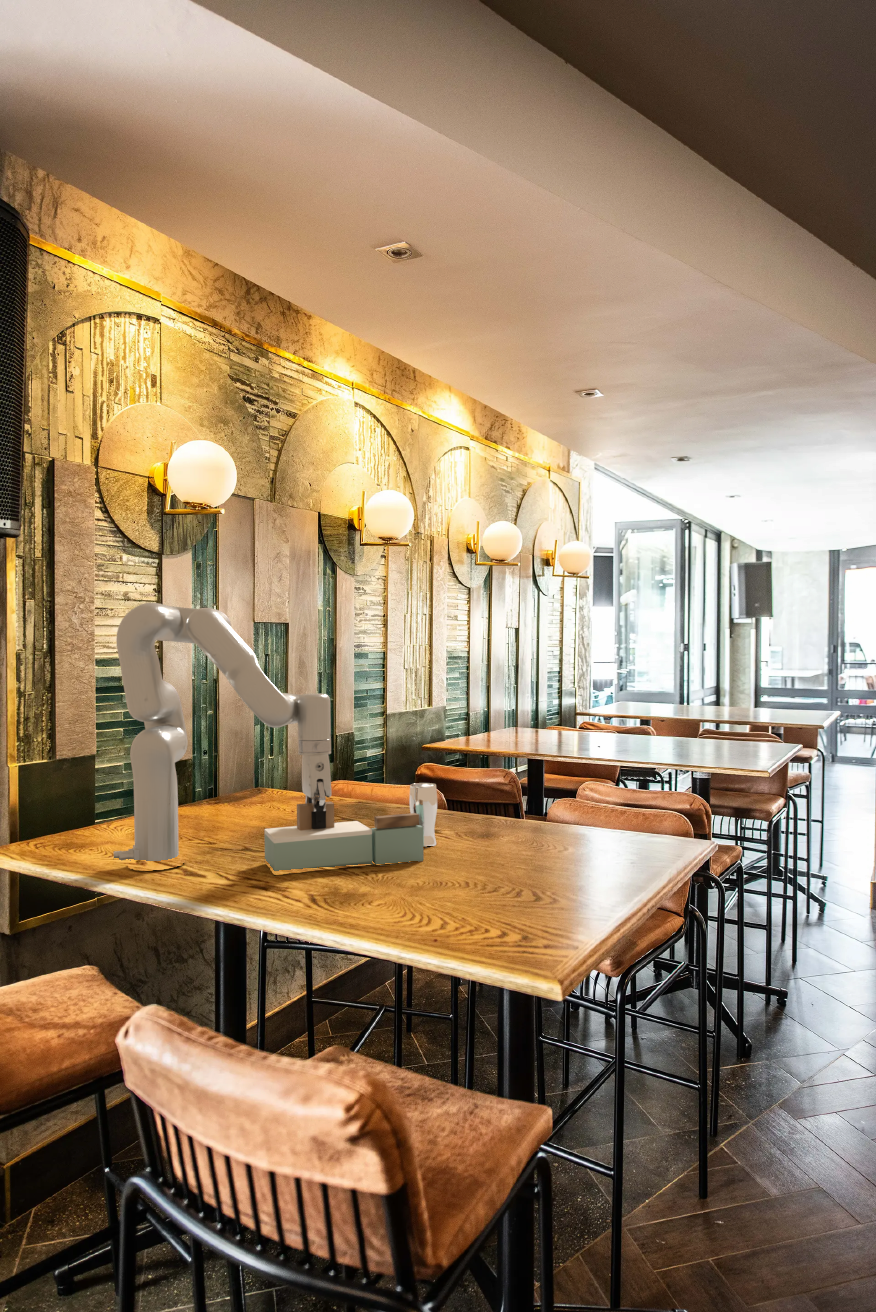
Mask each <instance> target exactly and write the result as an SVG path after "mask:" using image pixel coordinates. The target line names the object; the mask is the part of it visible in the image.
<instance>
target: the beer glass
mask: <svg viewBox="0 0 876 1312" xmlns="http://www.w3.org/2000/svg"><path fill="white" fill-rule="evenodd" d="M409 812H410V813H417V814H419V825H421V826H423V847H425V848H427V847H426V846H433V847H435V846H437V840H436V834H435V828H436V827H435V826H436V820H437V819H436V818H437V813H438V791H437V784H436V783H432V782H431V783H430V782H419V783H412V784H410V786H409ZM410 813H409V814H410Z"/></svg>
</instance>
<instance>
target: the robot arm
mask: <svg viewBox="0 0 876 1312" xmlns="http://www.w3.org/2000/svg"><path fill="white" fill-rule="evenodd" d="M115 641H116V650H117V654H118V659H119V665H120V672H121V679H122V686H123V690H124V695H125V702H126V707H127V711H128V713H129V714H130V717H132V719H134V720H136V721H139V722H143V723H144V729H143V730H141V731H140V732H139V733H137V735H136V736H135V738H134V739H133V740H132V742H131V746H130V750H129V755H130V756H129V757H130V763H131V764H130V765H131V771H132V779H133V781H132V782H133V807H134V808H133V812H134V815H133V817H134V821H133V823H134V844H133V845H132V848H128V850H114V851H113V859H114V858H119V860H121V861H126V859H128V860H129V859H134V860H146V861H161V860H168V859H172V858H175V857H177V856H178V855H180V853H179V799H178V798H179V797H178V796H179V794H178V793H179V791H178V790H179V789H178V788H179V787H178V776H177V771H176V763H177V762H179V761H180V760H181V759H182V758H183V757H184V756H185V754H186V752H187V749H188V746H189V744H188V743H189V741H188V733H187V726H186V721H185V717H184V712H183V706H182V701H181V697H180V694H179V692H178V691H177V689H176V688H175V686H174V685H172V684H171V683H170V682H168V681H165V680H163V675H162V670H161V664H160V659H159V656H158V653H157V649H156V645H155V644H156V641H161V642H174V643H175V642H176V643H184V644H186V643H187V644H195V645H196V646H197V647H198V648H199V649H200V651H202V652H203V653H204V654H205V655H206V657H207V658H208V659H209V660H210V661H211V662H212V663H213V665H215V667H216V668H217V669H218V670H219V671H220V672H221V673H222V675H223V676H224V677H225V679H226V680H227V682H228V683H229V684H230V685H231V687H232V688H233V690H234V691H235V693H236V694H237V695H238V697H239V698H240V699H241V701H242V702H243V703H244V705H246V706H247V708H249V709H250V711H251V712H252V713H253V714H254V715H255V716H256V717H257V718H258V719H259V720H260V721H261V722H262V723H263V724H264V725H266V726H268V727H270V728H275V729H277V728H281V727H284V726H287V725H292V724H297V755H299V756H301V788H302V793H303V795H305V802H304V804H305V803H312V806H313V811H312V812H311V814H312V829H325V828H326V805H325V804H326V803H325V802H326V800H327V799H326V798H331V797H332V777H331V764H330V756H329V755H331V754H332V738H331V737H332V735H331V733H332V732H331V722H332V721H331V698H330V696H329V695H328V694H325V693H303V694H302V693H301V694H298V693H297V694H295V693H287V692H281V691H280V690H279V688H277V687H276V686H275V684H273V682H271V680H270V679H269V678H268V677H267V676H266V674H265V673H264V672H263V670H262V668H261V666H260V664H259V661H258V658H257V655H256V653H255V652H254V650H253V649H252V648H251V647H250V646H249V644H247V643H246V642H245V641H244V640H243V638H242V637H241V636H240V635H239V634H238V632H236V631H235V630H234V628H233V627H232V623H231V620H230V618H229V616H227V615H226V613H225V612H223V611H221V610H219V609H216V608H211V607H200V608H190V607H181V606H175V605H174V606H173V605H166V604H163V603H158V602H146V603H141V604H139V605H137V606H135V607H134V608H132V609H130V611H128V612H127V613H126V614H125V615H124V616H123V618H122V619H121V621H120V623H119V625H118V627H117V632H116V640H115ZM119 860H118V861H119Z"/></svg>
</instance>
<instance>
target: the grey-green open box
mask: <svg viewBox="0 0 876 1312" xmlns="http://www.w3.org/2000/svg"><path fill="white" fill-rule="evenodd" d="M370 829H371V830H372V834H370V835H359V836H348V837H338V838H327V839H316V840H305V841H295V842H284V843H273V842H272V841H271V840H270V839H269V837H268V836H267V835H266V834H265V833H264V860H265V859H266V861H267V862H268V863H269V864H270V866H271V867H272V868H273V870H274V871H279V870H291V869H303V868H317V867H318V868H319V867H335V866H346V865H358V864H372V865H373V863H372V861H373V862H374V863H375V864H385V863H398V862H408V863H410V862H409V861H418V862H424V861H423V860H425V859H424V858H425V857H424V856H425V855H424V848H423V826H421V825H414V826H403V827H392V828H381V829H377V828H375V827H372V828H370Z"/></svg>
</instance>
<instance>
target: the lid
mask: <svg viewBox="0 0 876 1312" xmlns="http://www.w3.org/2000/svg"><path fill="white" fill-rule="evenodd" d="M325 803H326V804H325V805H326V828H325V829H312V814H311V812H312V811H313V806H312V803H305V802H304V803H297V804H296V825H294V826H292V825H291V826H282V827H281V826H280V827H270V828H264V831H263V832H264V835H265V834H266V835H267V836H268V837H269V839H270V840H271V841H272V842H273V843H284V842H295V841H305V840H316V839H327V838H338V837H348V836H359V835H370V834H372V830H371V828H370V827H368V826H366V825H365V824H363V823H361V822H360V821H358V820H353V821H339V822H335V803H334V802H332V801H325Z"/></svg>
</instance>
